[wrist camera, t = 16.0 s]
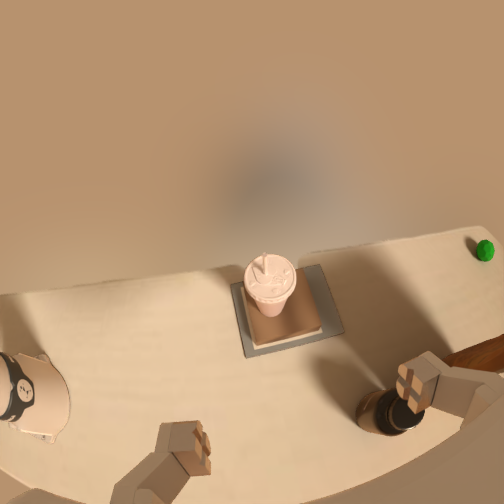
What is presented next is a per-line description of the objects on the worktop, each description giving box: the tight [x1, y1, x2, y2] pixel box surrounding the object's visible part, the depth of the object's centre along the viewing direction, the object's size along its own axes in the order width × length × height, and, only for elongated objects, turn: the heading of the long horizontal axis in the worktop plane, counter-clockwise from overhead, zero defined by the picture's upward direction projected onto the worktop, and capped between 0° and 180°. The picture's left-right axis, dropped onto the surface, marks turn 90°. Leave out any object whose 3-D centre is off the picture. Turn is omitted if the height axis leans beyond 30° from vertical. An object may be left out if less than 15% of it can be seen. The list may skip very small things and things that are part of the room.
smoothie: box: [244, 253, 296, 317], centre depth 35 cm, size 6×6×14 cm
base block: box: [242, 268, 322, 346], centre depth 42 cm, size 10×10×3 cm
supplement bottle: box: [356, 388, 425, 436], centre depth 28 cm, size 7×7×12 cm
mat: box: [231, 264, 344, 358], centre depth 44 cm, size 16×13×1 cm
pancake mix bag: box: [442, 334, 504, 374], centre depth 23 cm, size 7×19×28 cm, turn 104°
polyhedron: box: [476, 240, 495, 262], centre depth 44 cm, size 5×5×5 cm
